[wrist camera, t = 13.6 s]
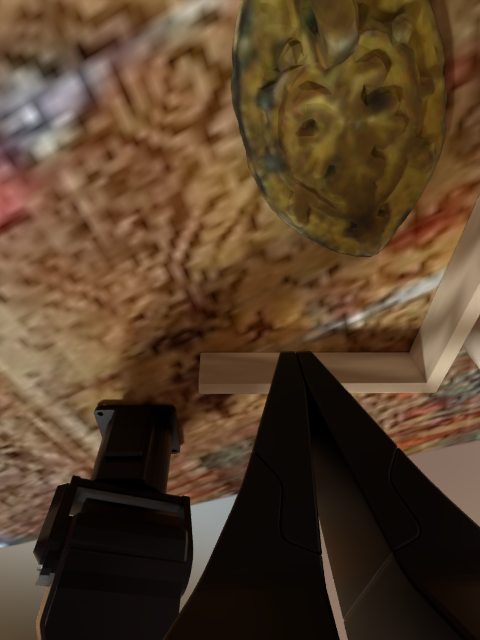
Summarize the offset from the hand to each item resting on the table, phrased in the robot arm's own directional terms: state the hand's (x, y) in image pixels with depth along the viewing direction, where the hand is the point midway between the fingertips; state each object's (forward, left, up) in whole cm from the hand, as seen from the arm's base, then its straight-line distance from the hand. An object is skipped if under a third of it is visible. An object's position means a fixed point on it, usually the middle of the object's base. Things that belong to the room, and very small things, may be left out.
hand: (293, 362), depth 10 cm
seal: (+4, -3, -13) cm, 14 cm away
